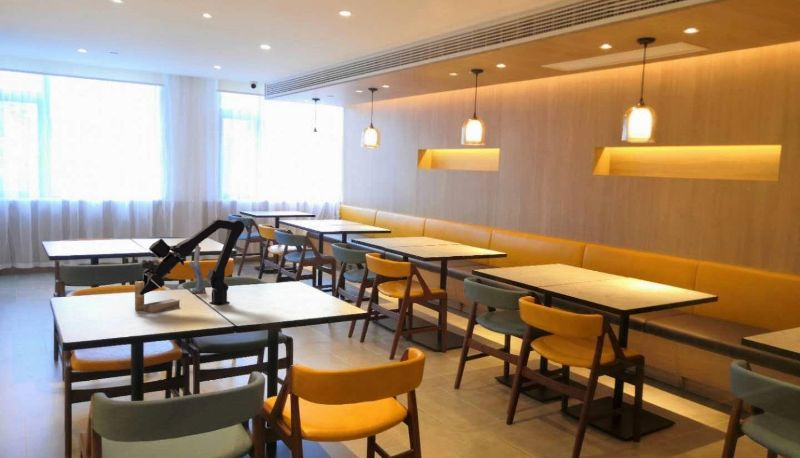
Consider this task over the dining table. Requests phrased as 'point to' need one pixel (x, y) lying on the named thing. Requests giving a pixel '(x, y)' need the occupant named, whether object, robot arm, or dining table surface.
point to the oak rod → (139, 296)
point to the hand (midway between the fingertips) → (138, 292)
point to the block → (161, 305)
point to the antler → (197, 272)
